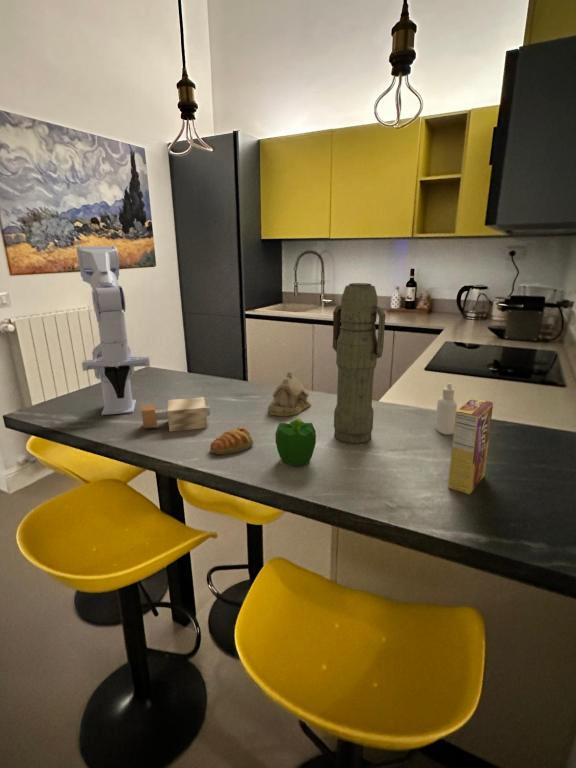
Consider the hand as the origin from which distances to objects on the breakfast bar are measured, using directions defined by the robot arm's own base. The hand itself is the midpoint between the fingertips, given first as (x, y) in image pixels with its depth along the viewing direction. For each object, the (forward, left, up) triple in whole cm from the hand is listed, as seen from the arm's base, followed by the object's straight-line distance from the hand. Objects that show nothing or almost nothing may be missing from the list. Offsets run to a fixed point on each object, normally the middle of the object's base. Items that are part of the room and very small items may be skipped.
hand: (121, 397), depth 101 cm
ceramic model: (-5, +43, -9) cm, 44 cm away
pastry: (+16, +24, -9) cm, 31 cm away
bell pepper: (+26, +36, -9) cm, 45 cm away
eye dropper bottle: (+20, +75, -9) cm, 78 cm away
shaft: (0, +12, -8) cm, 15 cm away
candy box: (+42, +65, -9) cm, 78 cm away
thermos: (+18, +52, -9) cm, 56 cm away
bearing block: (0, +15, -8) cm, 17 cm away
